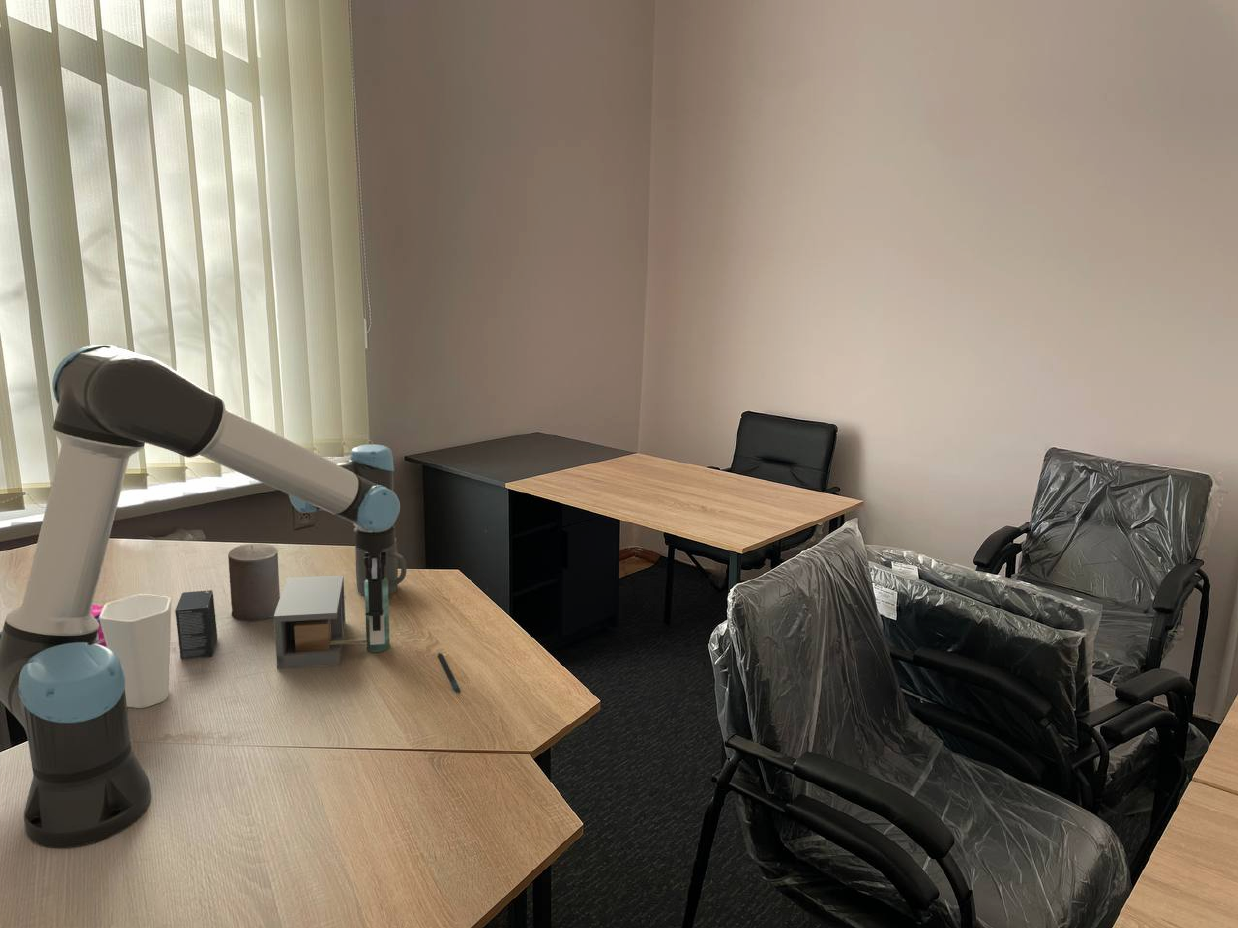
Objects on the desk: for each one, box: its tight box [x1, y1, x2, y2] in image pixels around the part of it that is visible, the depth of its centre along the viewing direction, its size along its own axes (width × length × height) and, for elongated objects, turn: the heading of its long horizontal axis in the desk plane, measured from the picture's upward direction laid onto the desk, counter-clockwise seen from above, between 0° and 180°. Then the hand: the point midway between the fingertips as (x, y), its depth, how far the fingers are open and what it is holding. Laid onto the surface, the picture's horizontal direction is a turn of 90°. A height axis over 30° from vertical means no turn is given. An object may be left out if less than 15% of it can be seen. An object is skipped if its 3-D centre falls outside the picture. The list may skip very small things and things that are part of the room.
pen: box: [437, 652, 461, 694], centre depth 163 cm, size 1×16×1 cm, turn 24°
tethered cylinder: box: [294, 578, 391, 653], centre depth 168 cm, size 6×17×14 cm, turn 103°
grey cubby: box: [273, 574, 346, 669], centre depth 170 cm, size 18×11×11 cm, turn 13°
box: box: [174, 589, 218, 661], centre depth 166 cm, size 8×6×11 cm
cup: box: [99, 593, 172, 709], centre depth 148 cm, size 11×10×17 cm
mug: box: [354, 537, 407, 597], centre depth 195 cm, size 14×9×12 cm
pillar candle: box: [227, 543, 281, 622], centre depth 182 cm, size 10×10×15 cm
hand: (377, 637), depth 171 cm, fingers closed on tethered cylinder, 4 cm apart
